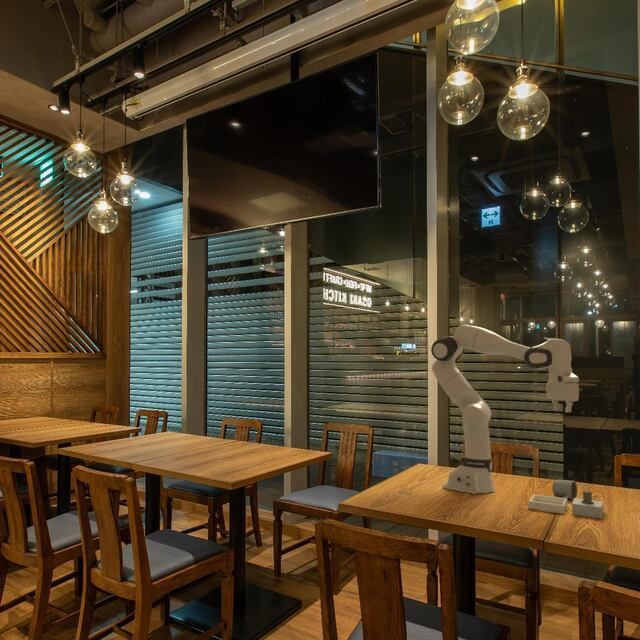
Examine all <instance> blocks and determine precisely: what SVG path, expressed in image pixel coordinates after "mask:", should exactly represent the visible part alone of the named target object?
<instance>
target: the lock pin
mask: <svg viewBox="0 0 640 640" xmlns="http://www.w3.org/2000/svg"><path fill="white" fill-rule="evenodd" d="M592 498H593V492H592V491H588V490H583V491H582V499H583V503H585V504H592V500H593V499H592Z"/></svg>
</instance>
